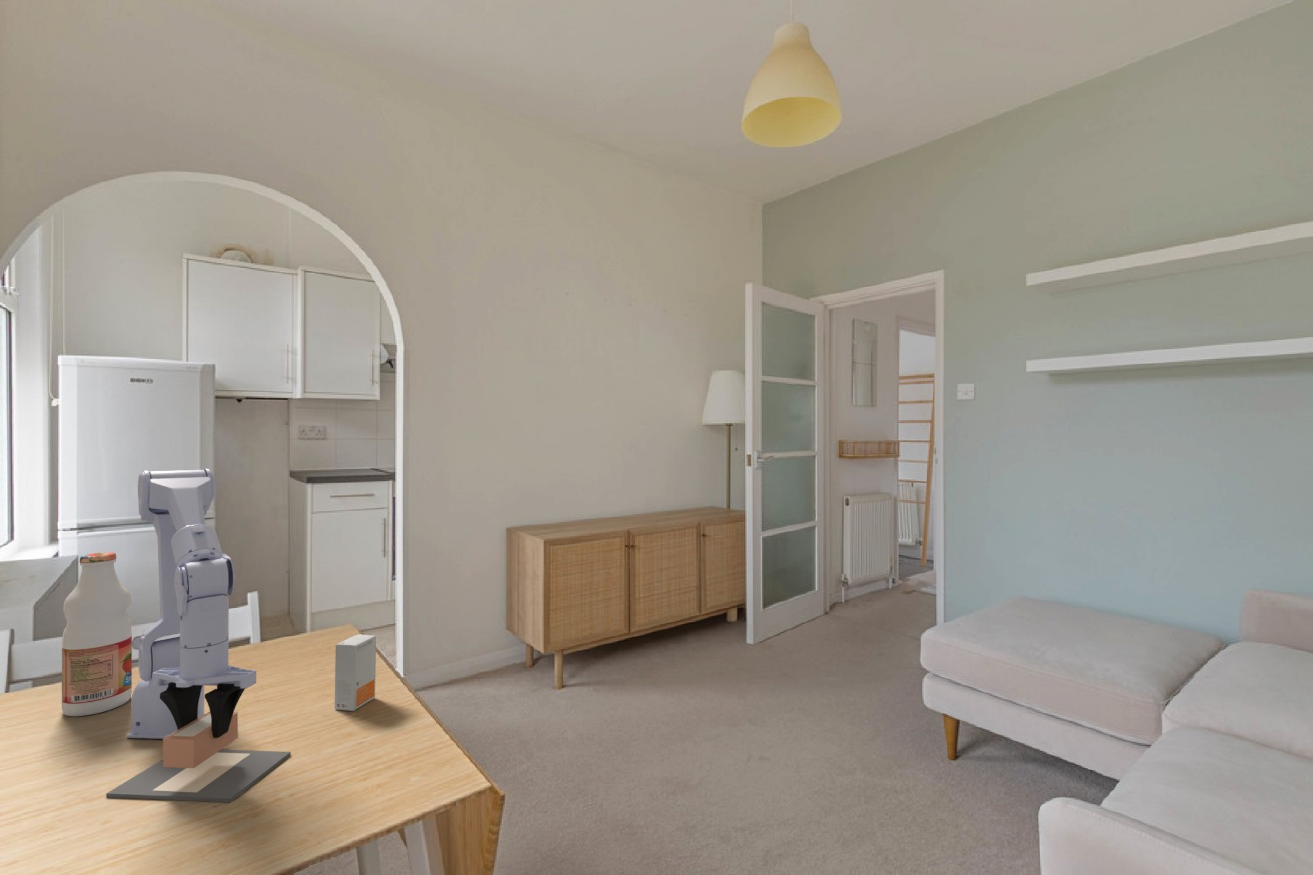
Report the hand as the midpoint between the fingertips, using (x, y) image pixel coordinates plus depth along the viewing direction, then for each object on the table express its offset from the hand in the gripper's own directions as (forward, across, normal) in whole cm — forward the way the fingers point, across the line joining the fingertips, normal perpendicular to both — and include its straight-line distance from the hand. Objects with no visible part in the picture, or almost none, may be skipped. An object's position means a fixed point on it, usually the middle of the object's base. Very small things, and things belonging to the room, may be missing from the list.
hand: (204, 734), depth 87 cm
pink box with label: (+2, 0, 0) cm, 2 cm away
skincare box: (+6, +9, +24) cm, 26 cm away
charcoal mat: (+6, 0, 0) cm, 6 cm away
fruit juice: (+6, -38, +20) cm, 43 cm away
